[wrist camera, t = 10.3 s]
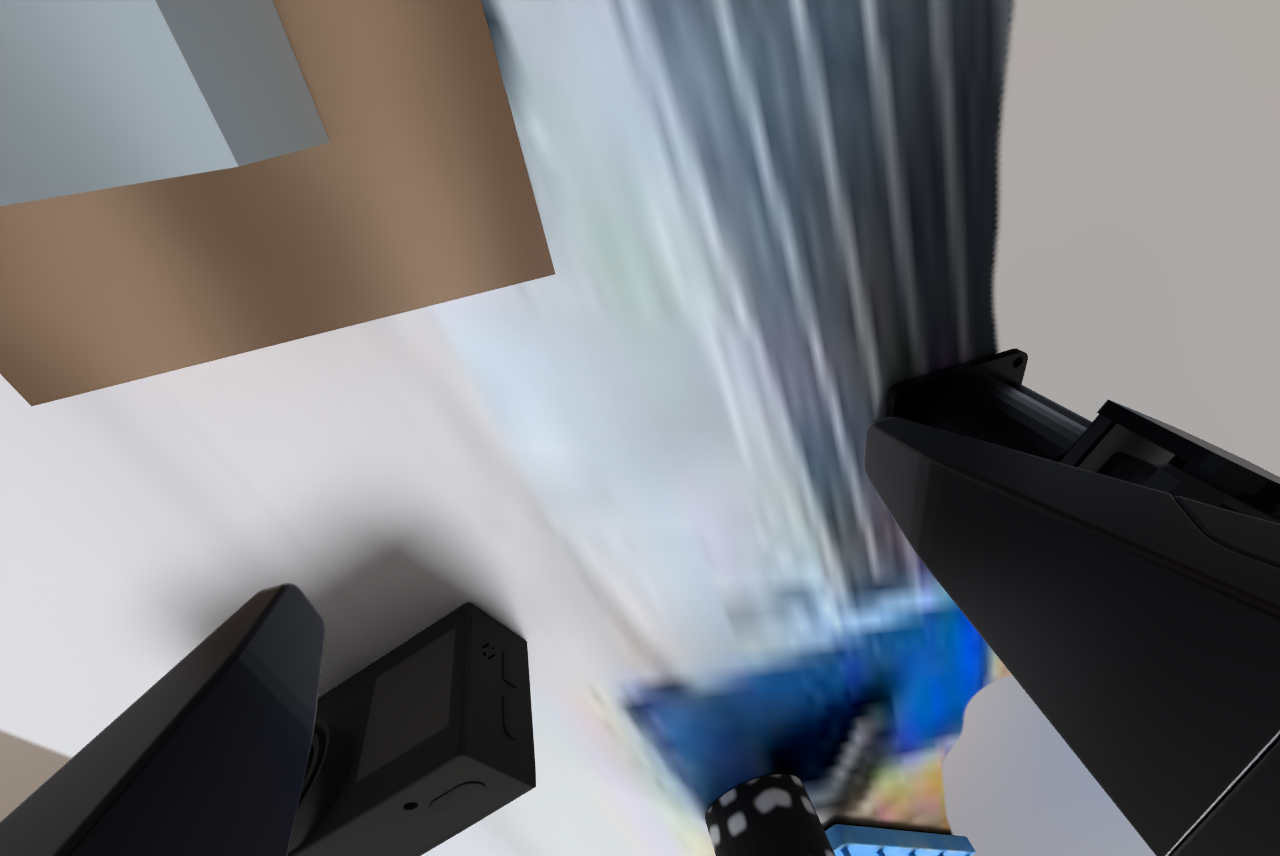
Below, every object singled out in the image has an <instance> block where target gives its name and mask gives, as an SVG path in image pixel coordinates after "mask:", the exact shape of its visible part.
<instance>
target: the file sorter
mask: <svg viewBox="0 0 1280 856" xmlns="http://www.w3.org/2000/svg"><path fill="white" fill-rule="evenodd" d="M825 833H826V836H827V838H828V840H829V842H830V844H831V847H832V849H833V851H834V853H835V855H836V856H972V855H974V854H975V853H976V852H975V850H974V848H973V847H972V845H971V844H970V842H969V840H968V839H967V837H964V836H955V835H944V834H934V833H924V832H913V831H902V830H891V829H883V828H872V827H861V826H851V825H840V824H836V825H833V826H832V827H830V828H829V829H827V830H826V831H825Z"/></svg>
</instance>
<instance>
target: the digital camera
mask: <svg viewBox="0 0 1280 856" xmlns="http://www.w3.org/2000/svg"><path fill="white" fill-rule="evenodd" d="M471 627H472V631H471ZM493 647H494V649H493ZM470 649H471V651H470ZM485 652H486V653H487V654H486V655H485V656H483V653H485ZM493 654H495V656H494V657H493V658H491V659H490V660H488V657H490V656H491V655H493ZM534 787H536V773H535V756H534V741H533V726H532V711H531V696H530V681H529V666H528V651H527V642H526V641H525V640H524V639H522V638H521V637H519V636H518V635H516V634H515V633H514V632H512V631H511V630H509V629H508V628H506V627H505V626H504V625H502V624H501V623H499V622H498V621H497V620H495V619H494V618H492V617H491V616H489V615H488V614H487V613H485V612H484V611H482V610H481V609H480V608H478V607H477V606H475V605H474V604H472V603H466V604H465V605H463V606H461V607H460V608H458V609H457V610H455V611H453V612H452V613H450V614H449V615H447V616H445V617H444V618H442V619H441V620H439V621H438V622H436V623H434V624H433V625H431V626H430V627H428V628H427V629H425V630H424V631H422V632H421V633H419V634H417V635H416V636H414V637H413V638H411V639H410V640H408V641H407V642H405V643H403V644H402V645H400V646H399V647H397V648H396V649H394V650H393V651H391V652H389V653H388V654H386V655H385V656H383V657H382V658H380V659H379V660H377V661H375V662H374V663H372V664H371V665H369V666H368V667H366V668H365V669H363V670H361V671H360V672H358V673H357V674H355V675H354V676H352V677H351V678H349V679H348V680H346V681H345V682H343V683H342V684H340V685H338V686H337V687H335V688H334V689H332V690H331V691H329V692H328V693H326V694H325V695H323V696H322V697H320V698H319V699H318V701H317V710H316V719H315V725H314V732H313V738H312V743H311V748H310V753H309V758H308V762H307V767H306V771H305V776H304V780H303V785H302V789H301V794H300V798H299V803H298V807H297V812H296V816H295V821H294V825H293V830H292V834H291V839H290V843H289V848H288V852H287V856H421V855H423V854H424V853H426V852H428V851H429V850H431V849H433V848H434V847H436V846H438V845H439V844H441V843H443V842H445V841H446V840H448V839H450V838H451V837H453V836H455V835H456V834H458V833H460V832H462V831H463V830H465V829H467V828H468V827H470V826H472V825H473V824H475V823H476V822H478V821H480V820H481V819H483V818H485V817H486V816H488V815H490V814H491V813H493V812H495V811H496V810H498V809H500V808H501V807H503V806H505V805H506V804H508V803H510V802H511V801H513V800H515V799H516V798H518V797H520V796H521V795H523V794H525V793H526V792H528V791H529V790H531V789H533V788H534Z"/></svg>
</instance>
